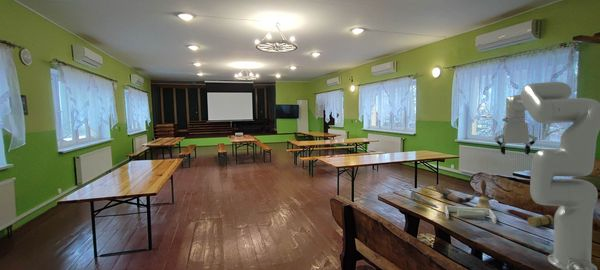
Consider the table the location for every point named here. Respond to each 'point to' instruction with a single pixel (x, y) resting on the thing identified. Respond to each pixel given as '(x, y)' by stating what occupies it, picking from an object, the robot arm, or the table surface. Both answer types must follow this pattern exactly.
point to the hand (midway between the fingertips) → (515, 154)
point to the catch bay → (454, 208)
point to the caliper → (415, 195)
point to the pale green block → (470, 213)
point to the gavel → (534, 218)
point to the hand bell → (483, 198)
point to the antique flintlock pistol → (449, 195)
